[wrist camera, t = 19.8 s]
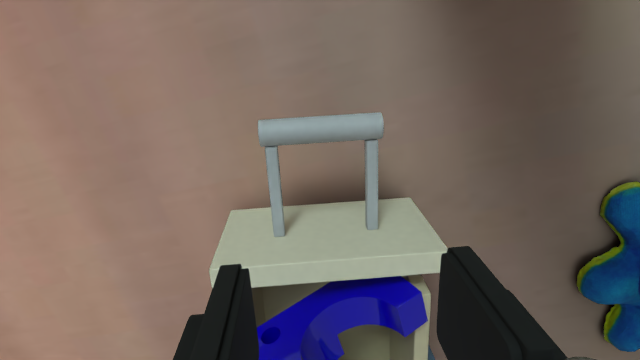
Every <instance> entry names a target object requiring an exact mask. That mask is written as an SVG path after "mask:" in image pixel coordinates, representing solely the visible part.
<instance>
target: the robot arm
mask: <svg viewBox="0 0 640 360" xmlns="http://www.w3.org/2000/svg"><path fill="white" fill-rule="evenodd" d="M437 336H438V340H439V342H440V345H441V347H442V349H443V351H444V353H445V355H446V357H447V359H448V360H596V359H592V358H587V357H571V358H567V357H566V355H565V354H564V353H563V352H562V351H561V350H560V348H559V347H558V346H557V345H556V344H555V343H554V342H553V340H552V339H551V338H550V337H549V336H548V335H547V333H546V332H545V331H544V330H543V329H542V328H541V326H540V325H539V324H538V323H537V322H536V321H535V319H534V318H533V317H532V316H531V315H530V314H529V312H528V311H527V310H526V309H525V308H524V307H523V305H522V304H521V303H520V302H519V301H518V300H517V298H516V297H515V296H514V295H513V294H512V293H511V292H510V291H509V290H506V289H505V288H504V286H503V285H502V284H501V283H500V282H499V281H498V279H497V278H496V277H495V276H494V275H493V273H492V272H491V271H490V270H489V269H488V268H487V266H486V265H485V264H484V263H483V262H482V260H481V259H480V258H479V257H478V256H477V255H476V253H475V252H474V251H473V250H472V249H471V248H470V247H469V246H465V247H452V248H448V250H447V253H443V254H442V255H441V264H440V280H439V296H438V313H437ZM173 360H259V342H258V334H257V327H256V319H255V312H254V304H253V296H252V289H251V281H250V274H249V269H248V268H246V269H242V266H241V264H231V265H221V266H220V268H219V271H218V274H217V277H216V280H215V283H214V286H213V289H212V292H211V295H210V298H209V301H208V304H207V307H206V310H205V313H204V314H199V315H191V316H190V317H189V319H188V321H187V324H186V327H185V329H184V332H183V334H182V337H181V340H180V342H179V345H178V348H177V350H176V353H175V356H174V358H173Z"/></svg>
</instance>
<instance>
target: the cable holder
mask: <svg viewBox="0 0 640 360" xmlns="http://www.w3.org/2000/svg"><path fill="white" fill-rule="evenodd" d="M427 321H428V318H427V314H426V310H425V305H424V301H423V296H422V292H421V291H420V290H419V289H417V288H416V287H415V286H413V285H412V284H411V283H409V282H408V281H407V280H405V279H404V278H403V277H402V276H394V277H381V278H369V279H356V280H344V281H331V282H329V283H328V284H326V285H324V286H323V287H321V288H320V289H318V290H316V291H315V292H313V293H311V294H310V295H308V296H307V297H305V298H303V299H302V300H300V301H299V302H297V303H295V304H294V305H292V306H291V307H289V308H287V309H286V310H284V311H283V312H281V313H279V314H278V315H276V316H275V317H273V318H271V319H270V320H268V321H267V322H265V323H263V324H262V325H260V326H259V327H257V334H258V342H259V360H338V359H339V358H340V357H341V356H342V355H344V351H343V349H342V346H341V343H340V341H339V338H338V334H340V333H341V332H343V331H345V330H347V329H350V328H353V327H356V326H360V325H381V326H385V327H388V328H391V329H393V330H395V331H397V332H398V333H400V334H401V335H402V336H404V337H407V336H408V335H409V334H411V333H412V332H413V331H415V330H416V329H417V328H419V327H420V326H422V325H423V324H424V323H426V322H427Z"/></svg>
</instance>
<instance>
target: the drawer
mask: <svg viewBox="0 0 640 360" xmlns="http://www.w3.org/2000/svg"><path fill="white" fill-rule="evenodd" d="M383 132H384V123H383V117H382V114H381V113H380V112H378V113H362V114H346V115H330V116H314V117H298V118H282V119H266V120H259V121H258V136H259V143H260V146H261V147H263V146H265V155H266V165H267V174H268V184H269V194H270V203H271V207H270V208H256V209H242V210H231V212H230V215H229V217H228V220H227V223H226V226H225V228H224V231H223V234H222V236H221V239H220V242H219V244H218V247H217V250H216V252H215V255H214V258H213V260H212V263H211V266H210V269H209V274H210V280H211V285H212V289H213V286H214V283H215V280H216V277H217V274H218V271H219V268H220V266H221V265H231V264H241V266H242V269H246V268H248V269H249V274H250V281H251V289H252V296H253V304H254V312H255V319H256V327H259V326H260V325H262V324H263V323H265V322H267V321H268V320H270V319H271V318H273V317H275V316H276V315H278V314H279V313H281V312H283V311H284V310H286V309H287V308H289V307H291V306H292V305H294V304H295V303H297V302H299V301H300V300H302V299H303V298H305V297H307V296H308V295H310V294H311V293H313V292H315V291H316V290H318V289H320V288H321V287H323V286H324V285H326V284H328V283H329V282H331V281H344V280H356V279H369V278H381V277H394V276H402V277H403V278H404V279H405V280H407V281H408V282H409V283H411V284H412V285H413V286H415V287H416V288H417V289H419V290H420V291H421V292H422V296H423V301H424V305H425V310H426V314H427V318H428V321H427V322H426V323H424V324H423V325H422V326H420V327H419V328H417V329H416V330H415V331H413V332H412V333H411V334H409V335H408V336H407V337H404V336H402V335H401V334H400V333H398V332H397V331H395V330H393V329H391V328H388V327H385V326H381V325H360V326H356V327H353V328H350V329H347V330H345V331H343V332H341V333H340V334H338V338H339V341H340V343H341V346H342V349H343V351H344V355H342V356H341V357H340V358H339V359H338V360H428V344H429V326H430V307H431V293H430V291H429V289H428V287H427V285H426V283H425V282H424V280H423V278H422V276H421V274H431V273H440V264H441V255H442V254H443V253H447V250H448V248H447V247H446V246H445V244H444V243H443V242H442V240H441V239H440V238H439V236H438V235H437V233H436V232H435V231H434V229H433V228H432V227H431V225H430V224H429V223H428V221H427V220H426V218H425V217H424V216H423V214H422V213H421V212H420V210H419V209H418V208H417V206H416V205H415V203H414V202H413V201H412V199H411V198H410V197H409V198H395V199H381V200H378V140H377V139H381V138H382V137H383ZM355 140H365V201H353V202H339V203H326V204H312V205H298V206H284V207H283V200H282V189H281V178H280V167H279V156H278V146H279V145H294V144H309V143H325V142H340V141H355Z"/></svg>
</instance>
